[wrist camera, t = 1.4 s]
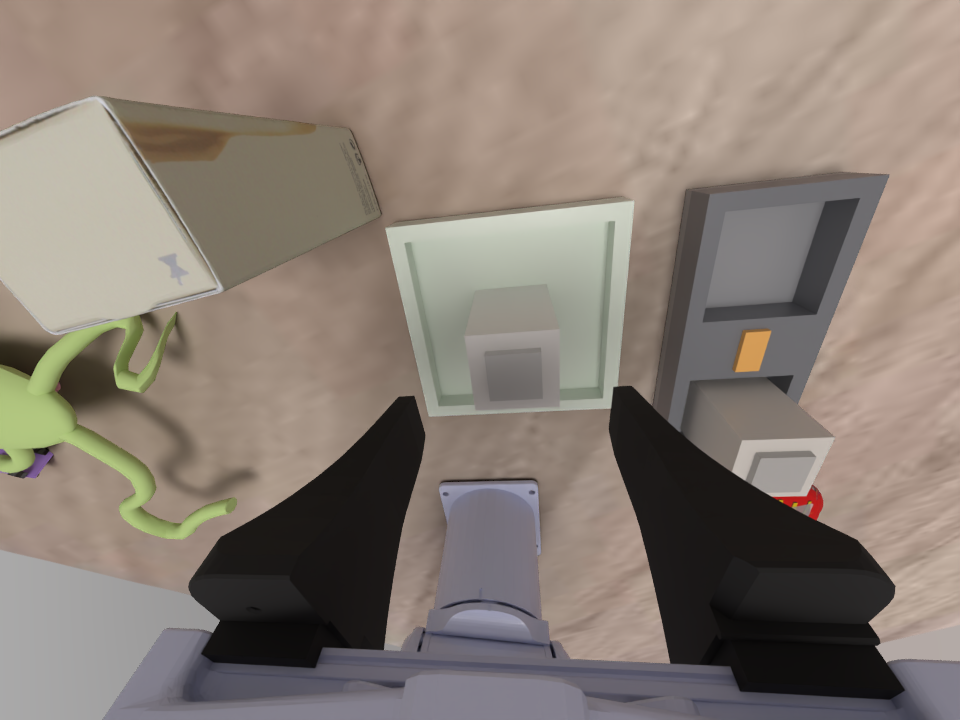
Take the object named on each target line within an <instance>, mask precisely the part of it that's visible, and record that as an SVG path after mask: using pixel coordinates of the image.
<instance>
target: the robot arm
mask: <svg viewBox="0 0 960 720" xmlns="http://www.w3.org/2000/svg"><path fill="white" fill-rule="evenodd" d="M609 433H610V438H611V442H612V447H613V451H614V455H615V458H616V461H617V464H618V467H619V469H620V472H621V475H622V478H623V480H624V483H625V486H626V489H627V491H628V494H629V497H630V500H631V502H632V505H633V508H634V511H635V513H636V516H637V520H638V523H639V526H640V530H641V534H642V538H643V542H644V545H645V549H646V553H647V557H648V562H649V566H650V570H651V574H652V578H653V583H654V587H655V592H656V596H657V601H658V605H659V610H660V614H661V619H662V624H663V629H664V633H665V638H666V643H667V648H668V653H669V658H670V664H666V663H645V662H623V661H602V660H581V659H570V657H569V656H568V654H567V653H566V652H565V650H564V649H563V647H562V645H561V643H560V642H558V641H550V638H549V626H548V622H547V621H544V620H542V614H541V600H540V586H539V572H538V558H537V556H538V555H540V554H541V541H540V520H539V499H538V484H537V482H536V481H533V480H522V481H479V482H444V483H441V484H440V485H439V492H440V496H441V500H442V504H443V509H444V513H445V517H446V521H447V525H448V526H447V532H446V538H445V544H444V550H443V556H442V562H441V568H440V574H439V580H438V586H437V592H436V598H435V604H434V609H430V610H429V613H428V619H427V625H426V628H424V627H416V628H415V629H414V630H413V632H412V633H411V634H410V635H409V636H408V637H407V638H406V639H405V641H404V643H403V645H402V648H401V651H388V650H384V643H385V635H386V626H387V618H388V611H389V604H390V597H391V590H392V583H393V577H394V571H395V565H396V559H397V553H398V548H399V543H400V537H401V532H402V527H403V523H404V519H405V515H406V511H407V508H408V505H409V501H410V498H411V494H412V491H413V488H414V484H415V481H416V478H417V474H418V471H419V467H420V464H421V460H422V455H423V449H424V442H425V432H424V428H423V425H422V421H421V418H420V414H419V410H418V407H417V403H416V400H415V396H405V397H398V398H397V399H396V400H395V401H394V403H393V404H392V405H391V406H390V407H389V408H388V409H387V410H386V411H385V413H384V414H383V415H382V416H381V417H380V418H379V419H378V420H377V421H376V422H375V424H374V425H373V426H372V427H371V428H370V429H369V430H368V431H367V432H366V433H365V434H364V435H363V436H362V437H361V438H360V439H359V440H358V441H357V442H356V443H355V444H354V445H353V446H352V447H351V448H350V449H349V450H348V451H347V452H346V453H345V454H344V455H343V456H341V457H340V458H339V459H338V460H337V461H336V462H335V463H334V464H332V465H331V466H330V467H329V468H327V469H326V470H325V471H324V472H323V473H321V474H320V475H319V476H318V477H316V478H315V479H314V480H312V481H311V482H309V483H308V484H307V485H305V486H304V487H303V488H301V489H300V490H298V491H297V492H296V493H294V494H293V495H291V496H290V497H288V498H287V499H285V500H284V501H282V502H281V503H279V504H278V505H276V506H275V507H273V508H271V509H270V510H268V511H266V512H265V513H263V514H261V515H260V516H258V517H256V518H255V519H253V520H251V521H249V522H247V523H246V524H244V525H242V526H240V527H238V528H237V529H235V530H233V531H231V532H229V533H227V534H226V535H224V536H222V537H220V539H219V540H218V541H217V543H216V544H215V546H214V547H213V548H212V550H211V551H210V553H209V554H208V556H207V557H206V559H205V560H204V561H203V563H202V564H201V566H200V567H199V569H198V570H197V571H196V573H195V574H194V576H193V577H192V579H191V580H190V582H189V586H188V587H189V591H190V593H191V596H192V597H194V599H195V600H196V601H197V602H199V603H200V604H201V605H202V606H203V607H205V608H206V609H207V610H208V611H209V612H211V613H212V614H213V615H214V616H216V617H217V618H218V619H219V620H220V622H219V624H218V626H217V627H216V629H215V631H214V632H213V633H212V632H209V631H205V630H200V629H180V628H167V629H165V630H163V631H162V633H161V634H160V636H159V637H158V639H157V640H156V642H155V643H154V645H153V646H152V648H151V649H150V651H149V652H148V654H147V655H146V656H145V658H144V659H143V661H142V662H141V664H140V665H139V667H138V668H137V670H136V671H135V673H134V674H133V675H132V677H131V678H130V680H129V681H128V683H127V684H126V686H125V687H124V689H123V690H122V692H121V693H120V695H119V696H118V698H117V699H116V700H115V702H114V703H113V705H112V706H111V708H110V709H109V711H108V712H107V714H106V715H105V717H104V718H103V719H102V720H960V661H941V660H940V661H939V660H917V659H901V660H894V661H890V662H887V663H886V661H885V660H884V659H883V657H882V656H881V654H880V653H879V651H878V650H877V649H876V647H875V646H877V645H879V644H880V639H879V637H878V636H877V634H876V633H875V632H874V630H873V629H872V627H871V626H870V625H869V623H868V622H869V621H870V620H871V619H873V618H874V617H875V616H876V615H877V614H878V613H879V612H880V611H882V610H883V609H884V608H885V607H886V606H887V605H888V604H889V603H890V602H891V600H892V599H893V598H894V594H895V585H894V584H893V582H892V581H891V579H890V578H889V577H888V576H887V574H886V573H885V572H884V571H883V569H882V568H881V567H880V566H879V564H878V563H877V562H876V561H875V559H874V558H873V557H872V556H871V555H870V554H869V553H868V551H867V550H866V549H865V548H864V547H863V546H862V545H861V544H860V543H859V541H858V540H856V539H854V538H852V537H850V536H848V535H846V534H844V533H842V532H840V531H838V530H835V529H833V528H831V527H829V526H827V525H825V524H823V523H821V522H819V521H817V520H815V519H813V518H810V517H808V516H807V515H805V514H803V513H801V512H799V511H797V510H795V509H793V508H792V507H790V506H788V505H786V504H784V503H782V502H780V501H779V500H777V499H775V498H773V497H772V496H770V495H768V494H766V493H765V492H763V491H761V490H760V489H758V488H756V487H755V486H753V485H752V484H750V483H748V482H747V481H745V480H743V479H742V478H740V477H739V476H737V475H736V474H734V473H733V472H731V471H730V470H728V469H727V468H725V467H724V466H722V465H721V464H720V463H718V462H717V461H715V460H714V459H713V458H711V457H710V456H708V455H707V454H706V453H704V452H703V451H702V450H700V449H699V448H698V447H697V446H695V445H694V444H693V443H692V442H691V441H689V440H688V439H687V438H686V437H685V436H683V435H682V434H681V433H680V432H679V431H678V430H677V429H676V428H674V427H673V426H672V425H671V424H670V423H669V422H668V421H667V420H666V419H665V418H664V417H663V416H661V415H660V414H659V413H658V412H657V411H656V410H655V409H654V408H653V407H652V406H651V405H650V404H649V403H648V402H647V401H646V400H645V399H644V398H643V397H642V396H641V395H640V394H639V393H638V392H637V391H636V390H635V389H634V388H633V387H632V386H619V387H613V395H612V404H611V413H610V422H609ZM531 490H533V491H531Z"/></svg>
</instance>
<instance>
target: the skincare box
mask: <svg viewBox="0 0 960 720" xmlns="http://www.w3.org/2000/svg"><path fill="white" fill-rule="evenodd" d="M380 216H381V213H380V209H379V207H378V204H377V201H376V198H375V195H374V192H373V189H372V186H371V183H370V180H369V177H368V174H367V171H366V169H365V166H364V163H363V160H362V158H361V155H360V153H359V150H358V148H357V145H356V143H355V140H354V138H353V135H352V133H351V131H350V130H349V129H348V128H342V127H334V126H326V125H317V124H308V123H301V122H294V121H287V120H277V119H270V118H261V117H253V116H246V115H238V114H230V113H222V112H214V111H205V110H197V109H190V108H183V107H174V106H168V105H160V104H151V103H144V102H136V101H129V100H122V99H116V98H110V97H104V96H91V97H88V98H85V99H82V100H78V101H75V102H71V103H69V104H66V105H63V106H60V107H57V108H54V109H52V110H49V111H46V112H43V113H41V114H39V115H36V116H33V117H30V118H28V119H26V120H24V121H22V122H19V123H17V124H15V125H12V126H10V127H9V128H6V129H4V130H1V131H0V280H1V282H2V283H3V284H4V285H5V286H6V287H7V288H8V289H9V290H10V292H11V293H12V294H13V295H14V296H15V297H16V299H17V300H18V301H19V302H20V303H21V304H22V305H23V306H24V307H25V308H26V310H27V311H28V312H29V313H30V314H31V315H32V316H33V317H34V318H35V320H36V321H37V322H38V323H39V324H40V325H41V327H42V328H43V329H44V330H45V331H47V332H49V333H51V334H54V335H62V334H66V333H70V332H74V331H78V330H82V329H86V328H90V327H94V326H98V325H102V324H106V323H110V322H113V321H118V320H122V319H126V318H129V317H133V316H137V315H140V314H144V313H148V312H151V311H155V310H159V309H162V308H166V307H169V306H173V305H177V304H181V303H184V302H188V301H192V300H196V299H199V298H202V297H206V296H210V295H214V294H219V293H221V292H224V291H227V290H228V289H230V288H232V287H234V286H236V285H239V284H241V283H243V282H245V281H247V280H249V279H251V278H254V277H256V276H258V275H260V274H262V273H264V272H266V271H268V270H270V269H273V268H275V267H277V266H279V265H281V264H283V263H285V262H287V261H289V260H291V259H293V258H295V257H298V256H300V255H302V254H304V253H306V252H308V251H310V250H312V249H314V248H316V247H318V246H320V245H322V244H324V243H326V242H328V241H330V240H332V239H334V238H337V237H339V236H341V235H343V234H345V233H347V232H349V231H351V230H353V229H355V228H358V227H360V226H362V225H364V224H366V223H368V222H370V221H372V220H374V219H377V218H379V217H380Z"/></svg>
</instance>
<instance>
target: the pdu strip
mask: <svg viewBox="0 0 960 720" xmlns="http://www.w3.org/2000/svg"><path fill="white" fill-rule="evenodd" d="M888 178H889V174H869V173H849V172H840V173H831V174H822V175H813V176H804V177H795V178H787V179H778V180H769V181H760V182H751V183H742V184H733V185H724V186H715V187H706V188H697V189H688V190H686V196H685V202H684V209H683V215H682V221H681V228H680V234H679V241H678V247H677V254H676V260H675V267H674V273H673V280H672V286H671V293H670V299H669V305H668V312H667V318H666V325H665V331H664V338H663V344H662V351H661V357H660V364H659V370H658V376H657V383H656V389H655V396H654V402H653V408H654V409H655V410H656V411H657V412H658V413H659V414H660V415H661V416H663V417H664V418H665V419H666V420H667V421H668V422H669V423H670V424H671V425H672V426H673V427H674V428H676V429H677V430H678V431H679V432H680V433H681V434H682V435H683V436H685V435H684V434H683V432H682V431H681V429H680V427H681V422H682V417H683V413H684V408H685V403H686V398H687V393H688V389H689V384H690V381H693V380H711V379H730V378H749V377H766V378H767V379H768V380H770V381H771V382H772V383H773V384H774V385H775V386H777V387H778V388H779V389H780V390H781V391H782V392H784V393H785V394H786V395H787V396H788V397H789V398H790V399H792V400H793V401H794V402H795V403H796V404H797V405H798V402H799V400H800V397H801V395H802V392H803V390H804V388H805V385H806V383H807V380H808V378H809V375H810V373H811V370H812V368H813V365H814V363H815V360H816V358H817V355H818V353H819V350H820V348H821V345H822V343H823V340H824V338H825V335H826V333H827V330H828V328H829V325H830V323H831V320H832V318H833V315H834V313H835V310H836V308H837V305H838V303H839V300H840V298H841V295H842V293H843V290H844V288H845V285H846V283H847V280H848V278H849V275H850V273H851V270H852V268H853V265H854V263H855V260H856V258H857V255H858V253H859V250H860V248H861V245H862V243H863V240H864V238H865V235H866V233H867V230H868V228H869V225H870V223H871V220H872V218H873V215H874V213H875V210H876V208H877V205H878V203H879V200H880V198H881V195H882V193H883V190H884V188H885V185H886V183H887V180H888Z"/></svg>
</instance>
